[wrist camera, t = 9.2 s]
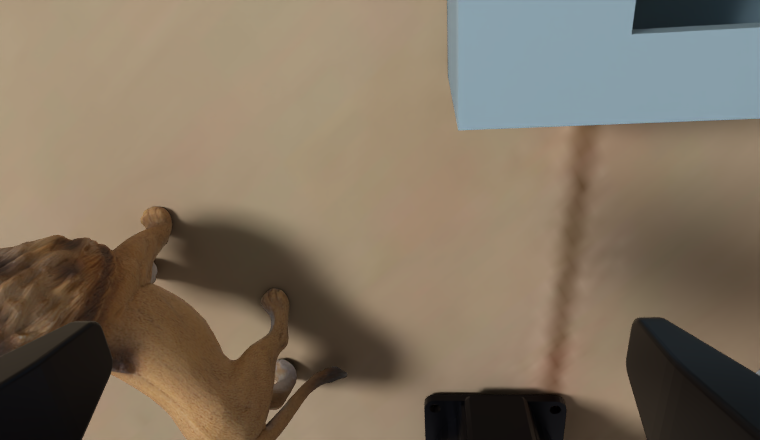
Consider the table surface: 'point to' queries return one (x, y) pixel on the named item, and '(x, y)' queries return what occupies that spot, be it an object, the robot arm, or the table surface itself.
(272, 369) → the lion figurine
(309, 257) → the table surface
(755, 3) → the tissue box
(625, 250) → the table surface
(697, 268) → the table surface
